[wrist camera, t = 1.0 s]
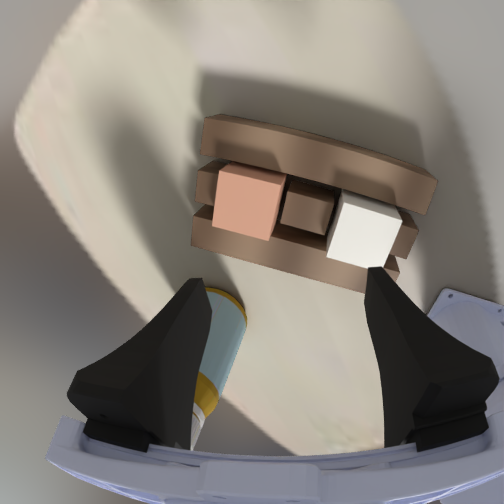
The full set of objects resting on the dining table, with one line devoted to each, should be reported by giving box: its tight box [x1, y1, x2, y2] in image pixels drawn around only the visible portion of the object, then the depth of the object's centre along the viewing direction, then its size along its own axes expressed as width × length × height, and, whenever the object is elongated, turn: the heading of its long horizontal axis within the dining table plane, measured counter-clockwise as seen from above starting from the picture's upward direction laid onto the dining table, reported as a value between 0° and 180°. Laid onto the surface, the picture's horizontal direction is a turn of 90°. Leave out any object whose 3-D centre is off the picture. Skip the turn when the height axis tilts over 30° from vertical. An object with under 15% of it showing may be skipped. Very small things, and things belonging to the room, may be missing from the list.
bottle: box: [191, 287, 247, 451], centre depth 25 cm, size 7×7×15 cm
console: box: [191, 114, 438, 294], centre depth 22 cm, size 16×10×3 cm, turn 82°
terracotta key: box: [212, 161, 287, 241], centre depth 21 cm, size 4×4×3 cm
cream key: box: [326, 189, 402, 269], centre depth 20 cm, size 4×4×3 cm
